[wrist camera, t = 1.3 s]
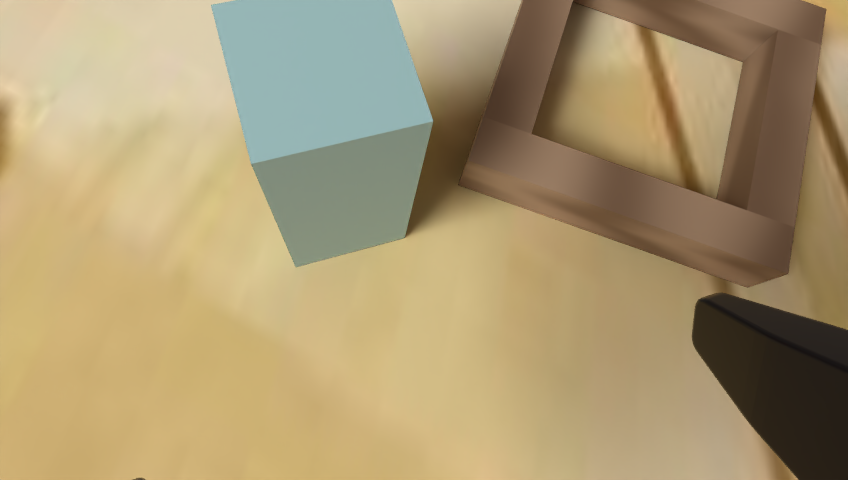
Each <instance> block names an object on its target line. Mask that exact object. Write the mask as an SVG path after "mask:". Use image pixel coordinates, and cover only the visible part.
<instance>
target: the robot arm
mask: <svg viewBox="0 0 848 480" xmlns="http://www.w3.org/2000/svg"><path fill="white" fill-rule="evenodd" d="M692 341H693V344H694V347H695V349H696V351H697V352H698V354H699V355H700V356H701V358H702V359H703V360H704V362H705V363H706V365H707V366H708V367H709V369H710V370H711V372H712V373H713V374H714V376H715V377H716V378H717V380H718V381H719V383H720V384H721V385H722V387H723V388H724V390H725V391H726V392H727V394H728V395H729V396H730V398H731V399H732V401H733V402H734V403H735V405H736V406H737V408H738V409H739V410H740V412H741V413H742V414H743V416H744V417H745V418H746V419H747V421H748V422H749V423H750V425H751V426H752V427H753V428H754V429H755V431H756V432H757V433H758V434H759V435H760V436H761V438H762V439H763V440H764V441H765V442H766V443H767V444H768V446H769V447H770V448H771V449H772V450H773V451H774V452H775V453H776V455H777V456H778V457H779V458H780V459H781V460H782V461H783V463H784V464H785V465H786V466H787V467H788V468H789V469H790V470H791V472H792V473H793V474H794V475H795V476H796V477H797V478H798V480H848V330H847V329H843V328H840V327H836V326H833V325H830V324H826V323H823V322H820V321H816V320H813V319H810V318H806V317H803V316H799V315H796V314H793V313H789V312H786V311H783V310H779V309H776V308H773V307H769V306H766V305H763V304H759V303H756V302H752V301H749V300H746V299H742V298H739V297H736V296H732V295H729V294H726V293H716V294H712V295H709V296H706V297H703V298H700V299H699V300H698V301H697V303H696V305H695V312H694V321H693V330H692ZM133 480H145V479H144V478H136V479H133Z"/></svg>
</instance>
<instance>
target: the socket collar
mask: <svg viewBox="0 0 848 480" xmlns="http://www.w3.org/2000/svg"><path fill="white" fill-rule="evenodd" d="M572 2H576V3H579V4H581V5H584V6H587V7H590V8H593V9H595V10H598V11H601V12H604V13H607V14H610V15H612V16H615V17H618V18H621V19H624V20H626V21H629V22H632V23H635V24H638V25H641V26H643V27H646V28H649V29H652V30H655V31H657V32H660V33H663V34H666V35H669V36H671V37H674V38H677V39H680V40H683V41H686V42H688V43H691V44H694V45H697V46H700V47H702V48H705V49H708V50H711V51H714V52H717V53H719V54H722V55H725V56H728V57H731V58H733V59H736V60H739V61H742V62H743V66H742V71H741V76H740V81H739V86H738V92H737V97H736V102H735V107H734V112H733V118H732V123H731V128H730V133H729V139H728V144H727V149H726V154H725V159H724V165H723V170H722V175H721V180H720V185H719V191H718V196H717V200H716V199H714V198H711V197H708V196H705V195H702V194H700V193H697V192H694V191H691V190H688V189H685V188H683V187H680V186H677V185H674V184H671V183H669V182H666V181H663V180H660V179H657V178H654V177H652V176H649V175H646V174H643V173H640V172H638V171H635V170H632V169H629V168H626V167H623V166H621V165H618V164H615V163H612V162H609V161H607V160H604V159H601V158H598V157H595V156H592V155H590V154H587V153H584V152H581V151H578V150H576V149H573V148H570V147H567V146H564V145H561V144H559V143H556V142H553V141H550V140H547V139H545V138H542V137H539V136H536V135H533V134H531V133H532V130H533V127H534V124H535V121H536V117H537V114H538V111H539V108H540V105H541V101H542V98H543V95H544V92H545V88H546V85H547V82H548V79H549V76H550V72H551V69H552V66H553V63H554V60H555V56H556V53H557V50H558V47H559V44H560V40H561V37H562V34H563V31H564V28H565V24H566V21H567V18H568V15H569V12H570V8H571V5H572ZM825 14H826V9H824V8H822V7H819V6H816V5H813V4H810V3H807V2H805V1H802V0H522V2H521V4H520V7H519V10H518V13H517V16H516V19H515V22H514V25H513V28H512V30H511V33H510V36H509V39H508V42H507V45H506V48H505V51H504V54H503V57H502V59H501V62H500V65H499V68H498V71H497V74H496V77H495V80H494V83H493V85H492V88H491V91H490V94H489V97H488V100H487V103H486V106H485V109H484V111H483V114H482V117H481V120H480V123H479V126H478V129H477V132H476V135H475V138H474V140H473V143H472V146H471V149H470V152H469V155H468V158H467V161H466V164H465V166H464V169H463V172H462V175H461V178H460V181H459V184H458V185H460V186H463V187H466V188H468V189H471V190H474V191H477V192H480V193H483V194H485V195H488V196H491V197H494V198H497V199H499V200H502V201H505V202H508V203H511V204H514V205H516V206H519V207H522V208H525V209H528V210H530V211H533V212H536V213H539V214H542V215H545V216H547V217H550V218H553V219H556V220H559V221H561V222H564V223H567V224H570V225H573V226H576V227H578V228H581V229H584V230H587V231H590V232H593V233H595V234H598V235H601V236H604V237H607V238H609V239H612V240H615V241H618V242H621V243H624V244H626V245H629V246H632V247H635V248H638V249H640V250H643V251H646V252H649V253H652V254H655V255H657V256H660V257H663V258H666V259H669V260H671V261H674V262H677V263H680V264H683V265H686V266H688V267H691V268H694V269H697V270H700V271H702V272H705V273H708V274H711V275H714V276H717V277H719V278H722V279H725V280H728V281H731V282H733V283H736V284H739V285H742V286H745V287H750V286H753V285H756V284H759V283H762V282H765V281H768V280H771V279H774V278H777V277H780V276H783V275H786V274H788V271H789V264H790V257H791V250H792V243H793V236H794V229H795V222H796V215H797V209H798V202H799V195H800V188H801V181H802V174H803V167H804V160H805V153H806V146H807V139H808V132H809V125H810V118H811V111H812V104H813V97H814V91H815V84H816V77H817V70H818V63H819V56H820V49H821V42H822V35H823V28H824V21H825Z"/></svg>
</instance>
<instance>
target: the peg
mask: <svg viewBox="0 0 848 480" xmlns="http://www.w3.org/2000/svg"><path fill="white" fill-rule="evenodd" d="M211 7H212V11H213V15H214V19H215V23H216V27H217V31H218V35H219V39H220V43H221V46H222V50H223V54H224V58H225V62H226V66H227V70H228V74H229V78H230V82H231V86H232V90H233V94H234V98H235V102H236V106H237V110H238V114H239V118H240V122H241V126H242V130H243V134H244V138H245V142H246V146H247V149H248V153H249V157H250V161H251V165H252V167H253V169H254V172H255V174H256V176H257V179H258V181H259V183H260V186H261V188H262V190H263V193H264V195H265V197H266V199H267V202H268V204H269V206H270V209H271V211H272V213H273V216H274V218H275V220H276V223H277V225H278V227H279V230H280V232H281V234H282V237H283V239H284V241H285V243H286V246H287V248H288V250H289V253H290V255H291V257H292V260H293V262H294V264H295V267H299V266H302V265H306V264H310V263H313V262H317V261H321V260H325V259H328V258H332V257H336V256H339V255H343V254H347V253H351V252H354V251H358V250H362V249H365V248H369V247H373V246H377V245H380V244H384V243H388V242H391V241H395V240H399V239H403V238H405V234H406V230H407V226H408V222H409V218H410V214H411V210H412V206H413V202H414V198H415V194H416V190H417V186H418V182H419V177H420V173H421V169H422V165H423V161H424V157H425V153H426V149H427V145H428V141H429V137H430V133H431V129H432V125H433V119H432V116H431V113H430V110H429V107H428V104H427V101H426V99H425V96H424V93H423V90H422V87H421V84H420V81H419V78H418V75H417V72H416V69H415V67H414V64H413V61H412V58H411V55H410V52H409V49H408V46H407V43H406V40H405V37H404V35H403V32H402V29H401V26H400V23H399V20H398V17H397V14H396V11H395V8H394V5H393V3H392V0H236V1H230V2H225V3H219V4H214V5H211Z"/></svg>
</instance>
